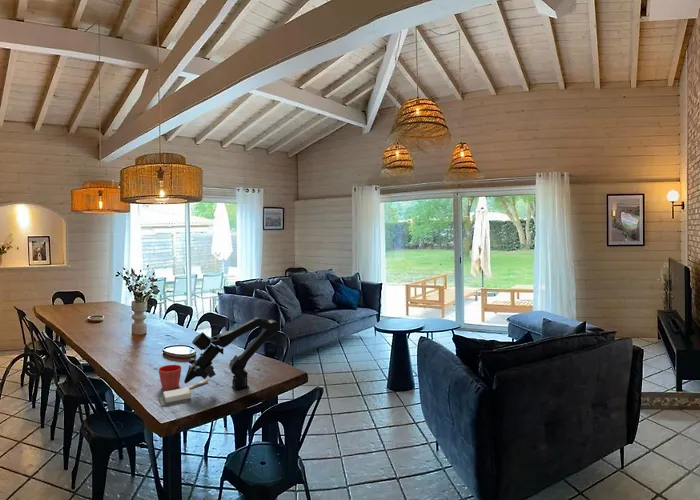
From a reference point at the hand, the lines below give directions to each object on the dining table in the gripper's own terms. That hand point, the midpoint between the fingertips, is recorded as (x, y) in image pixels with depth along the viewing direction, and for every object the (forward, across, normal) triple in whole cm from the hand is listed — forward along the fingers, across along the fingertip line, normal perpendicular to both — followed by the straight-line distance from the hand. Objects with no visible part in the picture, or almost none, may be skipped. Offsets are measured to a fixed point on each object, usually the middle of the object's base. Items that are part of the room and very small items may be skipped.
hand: (184, 382), depth 208 cm
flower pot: (+8, +18, -2) cm, 20 cm away
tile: (+2, 0, -5) cm, 5 cm away
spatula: (+1, +11, -8) cm, 14 cm away
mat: (+9, 0, -1) cm, 9 cm away
